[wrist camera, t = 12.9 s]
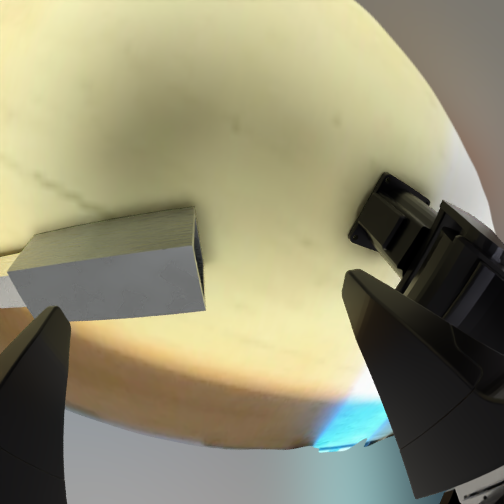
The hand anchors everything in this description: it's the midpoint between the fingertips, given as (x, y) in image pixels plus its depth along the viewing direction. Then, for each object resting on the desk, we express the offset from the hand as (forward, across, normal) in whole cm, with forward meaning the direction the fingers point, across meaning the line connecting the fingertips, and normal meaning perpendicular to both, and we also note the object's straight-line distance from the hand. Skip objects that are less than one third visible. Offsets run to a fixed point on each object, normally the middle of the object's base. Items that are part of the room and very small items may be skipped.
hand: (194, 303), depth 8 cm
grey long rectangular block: (+12, +9, +5) cm, 16 cm away
